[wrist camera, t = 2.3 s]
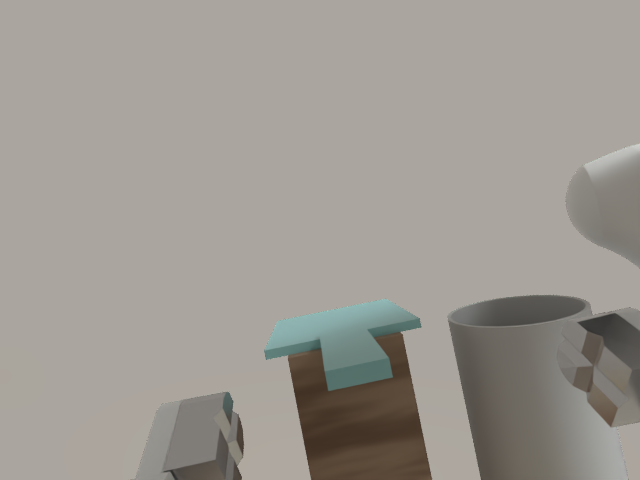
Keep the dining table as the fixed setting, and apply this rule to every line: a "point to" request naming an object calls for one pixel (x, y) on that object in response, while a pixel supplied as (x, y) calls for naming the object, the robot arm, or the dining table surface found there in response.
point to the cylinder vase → (529, 393)
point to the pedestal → (360, 421)
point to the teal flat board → (344, 340)
